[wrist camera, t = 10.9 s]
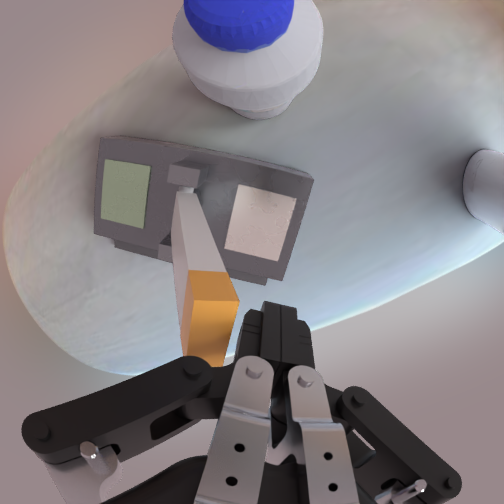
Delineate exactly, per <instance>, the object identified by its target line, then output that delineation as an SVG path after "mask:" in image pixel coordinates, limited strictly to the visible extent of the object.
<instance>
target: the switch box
mask: <svg viewBox="0 0 504 504" xmlns="http://www.w3.org/2000/svg"><path fill="white" fill-rule="evenodd" d="M313 181H314V179H313V178H312V177H311V176H310V175H309V174H308V173H305V172H301V171H298V170H294V169H291V168H287V167H283V166H280V165H276V164H272V163H268V162H264V161H260V160H256V159H251V158H247V157H243V156H238V155H234V154H229V153H225V152H220V151H215V150H210V149H205V148H199V147H194V146H188V145H183V144H177V143H170V142H164V141H157V140H150V139H143V138H135V137H126V136H113V137H102V138H101V139H100V147H99V155H98V164H97V174H96V188H95V207H94V234H97V235H101V236H104V237H108V238H112V239H115V240H119V241H123V242H127V243H130V244H134V245H138V246H142V247H145V248H149V249H153V250H157V251H158V259H161V260H165V261H169V262H173V258H172V244H171V227H172V220H173V213H174V206H175V199H176V193H177V191H179V187H180V185H183V186H188V187H193V188H194V191H193V193H196V194H197V197H198V200H199V202H200V205H201V207H202V210H203V213H204V215H205V218H206V221H207V223H208V226H209V228H210V231H211V234H212V236H213V239H214V241H215V244H216V246H217V249H218V251H219V254H220V256H221V259H222V261H223V264H224V266H225V268H229V269H233V270H237V271H241V272H245V273H249V274H254V275H258V276H262V277H266V278H271V279H275V280H279V281H282V280H283V277H284V274H285V271H286V268H287V265H288V262H289V259H290V256H291V253H292V250H293V246H294V243H295V240H296V237H297V234H298V231H299V228H300V224H301V221H302V218H303V215H304V211H305V208H306V205H307V202H308V198H309V195H310V192H311V188H312V185H313Z"/></svg>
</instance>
